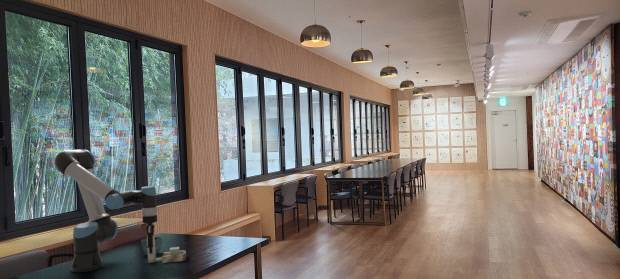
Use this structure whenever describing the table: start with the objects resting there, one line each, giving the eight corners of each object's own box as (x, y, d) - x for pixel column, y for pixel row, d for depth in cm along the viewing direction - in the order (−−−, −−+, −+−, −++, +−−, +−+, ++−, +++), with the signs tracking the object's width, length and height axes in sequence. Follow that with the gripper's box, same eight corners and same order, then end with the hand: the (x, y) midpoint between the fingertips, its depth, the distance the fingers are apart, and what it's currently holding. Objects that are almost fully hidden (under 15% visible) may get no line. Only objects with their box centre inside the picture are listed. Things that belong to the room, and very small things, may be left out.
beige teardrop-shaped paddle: (147, 263, 243) (146, 237, 243) (148, 260, 248) (147, 235, 247) (179, 259, 247) (178, 234, 247) (179, 257, 252) (178, 232, 252)
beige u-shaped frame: (162, 263, 242) (162, 256, 242) (163, 258, 252) (163, 252, 252) (185, 260, 245) (185, 254, 245) (186, 256, 255) (185, 250, 255)
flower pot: (155, 256, 258) (154, 240, 258) (141, 255, 260) (140, 240, 260) (163, 252, 267) (162, 236, 267) (149, 252, 269) (149, 236, 269)
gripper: (155, 216, 238) (157, 261, 238) (158, 212, 255) (160, 253, 255) (140, 218, 236) (142, 263, 236) (144, 213, 253) (145, 255, 253)
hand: (151, 258), depth 246 cm, fingers closed on beige teardrop-shaped paddle, 4 cm apart
